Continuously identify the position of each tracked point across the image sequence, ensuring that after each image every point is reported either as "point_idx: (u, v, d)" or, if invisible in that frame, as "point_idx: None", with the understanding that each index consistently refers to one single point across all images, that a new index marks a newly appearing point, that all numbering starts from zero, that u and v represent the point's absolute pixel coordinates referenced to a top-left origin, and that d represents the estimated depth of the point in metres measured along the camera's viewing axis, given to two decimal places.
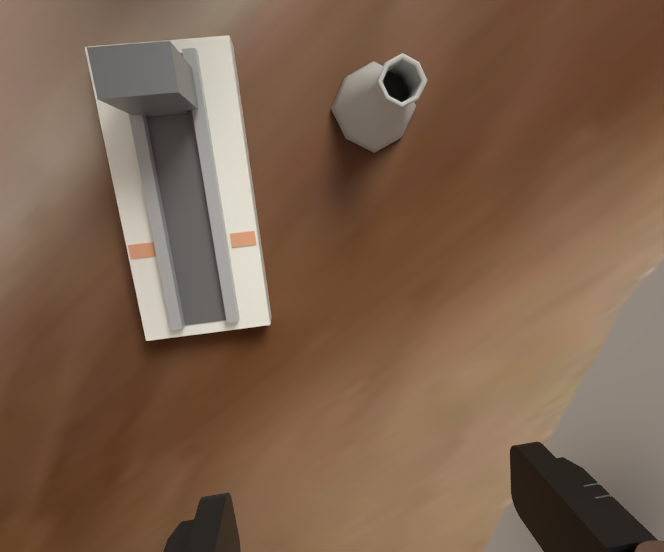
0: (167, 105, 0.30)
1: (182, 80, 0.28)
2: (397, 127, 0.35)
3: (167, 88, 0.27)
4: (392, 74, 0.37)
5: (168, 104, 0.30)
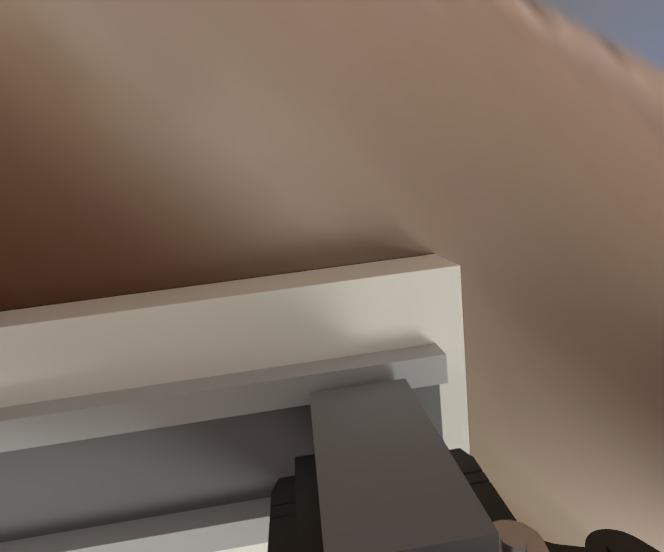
0: None
1: None
2: None
3: None
4: None
5: None
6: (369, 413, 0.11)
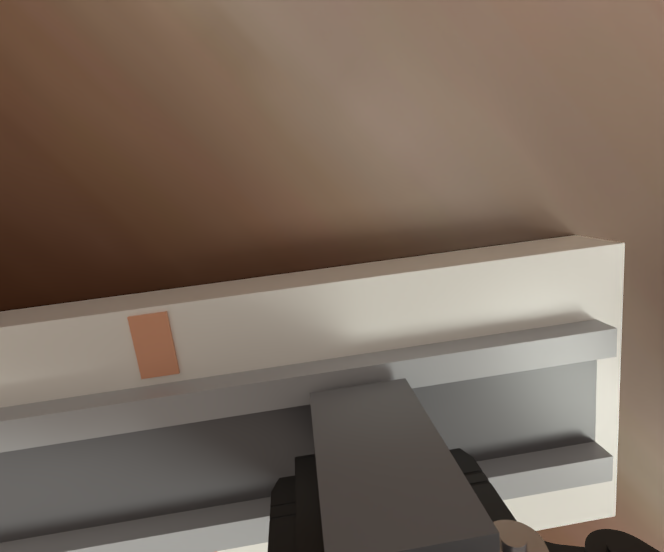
0: None
1: None
2: None
3: None
4: None
5: None
6: (369, 413, 0.11)
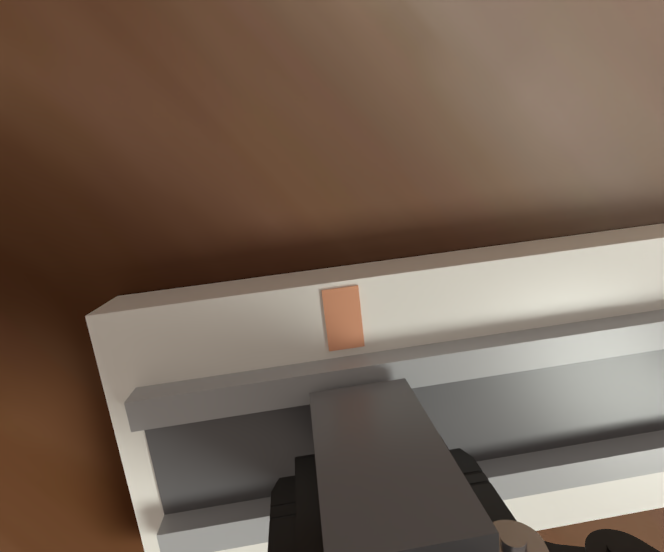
0: None
1: None
2: None
3: None
4: None
5: None
6: (369, 413, 0.11)
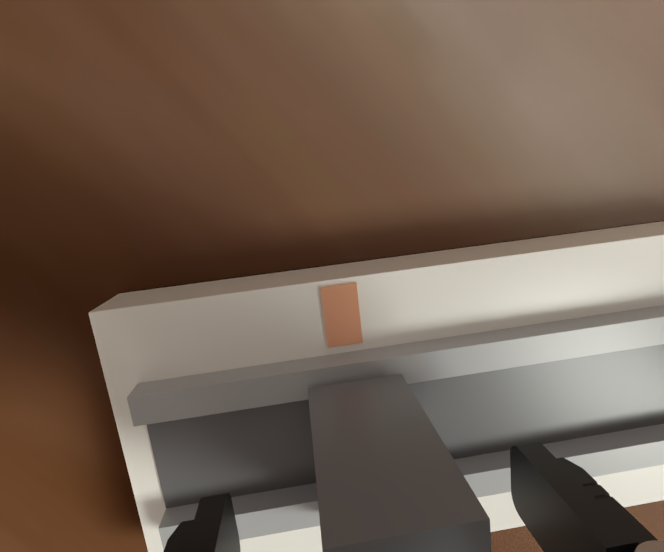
0: None
1: None
2: None
3: None
4: None
5: None
6: (366, 407, 0.12)
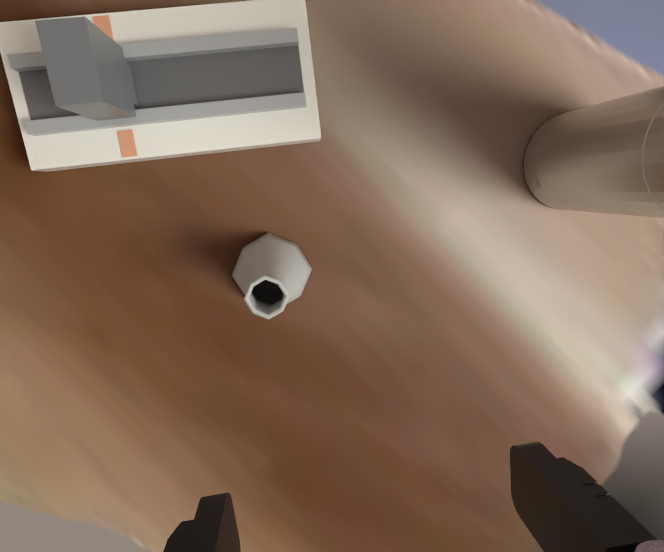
0: None
1: (85, 109, 0.29)
2: None
3: (57, 95, 0.27)
4: (302, 287, 0.41)
5: None
6: None
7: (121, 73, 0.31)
